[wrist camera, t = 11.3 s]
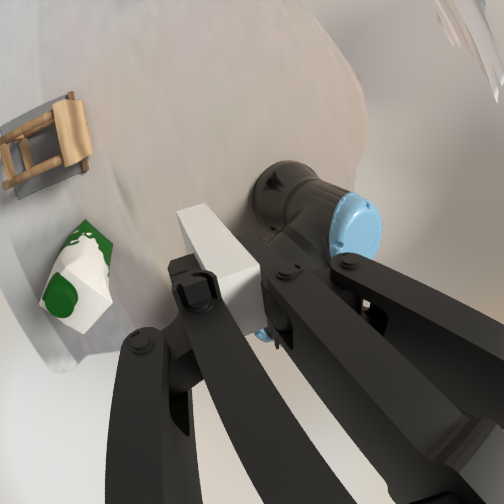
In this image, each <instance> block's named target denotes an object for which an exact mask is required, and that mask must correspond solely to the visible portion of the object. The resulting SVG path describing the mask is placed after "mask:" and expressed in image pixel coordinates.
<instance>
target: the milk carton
mask: <svg viewBox="0 0 504 504" xmlns="http://www.w3.org/2000/svg"><path fill="white" fill-rule="evenodd" d="M112 247H113V244H112V243H111V242H110V241H109V240H108V239H107V238H106V237H104V236H103V235H102V234H101V233H100V232H99V231H98V230H97V229H96V228H94V227H93V226H92V225H91V224H90V223H89V222H88V221H87V220H86V219H85V220H84V221H83V222H82V224H81V225H80V226H79V227H78V228H77V229H76V230H75V231H74V232H73V233H72V234H71V235H70V237H69V238H68V239H67V240H66V242H65V243H64V245H63V246H62V247H61V249H60V252H59V254H58V256H57V258H56V261H55V263H54V266H53V268H52V270H51V273H50V276H49V278H48V281H47V283H46V286H45V289H44V291H43V294H42V297H41V300H40V302H39V305H40V306H41V307H42V308H44V309H45V310H46V311H48V312H49V313H50V314H52V315H53V316H54V317H56V318H57V319H59V320H60V321H62V322H63V323H64V324H65V325H67V326H70V327H72V328H73V329H75V330H76V331H78V332H80V333H81V334H83V335H84V334H85V333H86V331H87V330H88V329H89V328H90V327H91V326H92V325H93V324H94V322H95V321H96V320H97V319H98V318H99V317H100V316H101V315H102V314H103V313H104V311H105V310H106V309H107V308H108V307H109V306H110V305H111V304H112V303H113V302H112V299H111V296H110V292H109V289H108V285H109V269H110V260H111V254H112Z"/></svg>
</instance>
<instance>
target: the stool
mask: <svg viewBox="0 0 504 504" xmlns="http://www.w3.org/2000/svg"><path fill="white" fill-rule="evenodd" d="M52 106H53V109H52V110H50V111H48V112H46V113H44V114H42V115H40V116H38V117H36V118H34V119H32V120H30V121H28V122H26V123H24V124H23V125H21V126H19V127H17V128H15V129H14V130H12V131H10V132H9V133H7V134H5V135H4V136H2V137H0V153H1V157H2V162H3V166H4V170H5V173H6V177H7V180H6V181H5V182H3V185H2V186H3V189H4V190H5V191H6V190H8V189H10V188H12V187H14V186H16V185H18V184H20V183H22V182H24V181H26V180H28V179H30V178H32V177H34V176H36V175H39V174H41V173H43V172H45V171H47V170H50V169H52V168H54V167H57V166H59V165H62V164H65V167H67V166H70V165H73V164H75V163H77V162H79V161H81V160H82V159H84V158H86V157H87V156H89V155H91V154H93V153H94V152H93V148H92V144H91V139H90V134H89V130H88V124H87V119H86V114H85V108H84V102H83V101H78V100H67V99H63V100H61V101H59V102H56V103H54V104H52ZM53 124H56V129H57V134H58V139H59V143H60V148H61V152H62V153H61V154H59V155H57V156H54V157H52V158H50V159H47V160H45V161H43V162H41V163H39V164H37V165H35V166H33V162H32V158H31V154H30V149H29V145H28V140H27V137H28V136H30V135H32V134H34V133H36V132H38V131H40V130H42V129H44V128H47V127H49V126H51V125H53ZM11 142H14V143H17V142H19V143H20V147H21V152H22V156H23V160H24V164H25V168H26V170H24V171H22V173H20V174H18V175H15V171H14V167H13V163H12V159H11V155H10V150H9V146H8V143H11Z"/></svg>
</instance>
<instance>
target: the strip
mask: <svg viewBox="0 0 504 504" xmlns="http://www.w3.org/2000/svg"><path fill="white" fill-rule="evenodd" d="M68 98H69V100H75V97H74V92H73V91H71V92H68ZM81 163H82V167H83V170H84V172H85V171H88V170H89V166H88V162H87V158H84V159H82V160H81Z"/></svg>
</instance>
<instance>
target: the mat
mask: <svg viewBox="0 0 504 504" xmlns="http://www.w3.org/2000/svg"><path fill="white" fill-rule="evenodd" d="M63 99H67V100H68V97H67V94H66V95H63V96H61V97H59V98H56V99H54V100H52V101H49V102H47V103H45V104H43V105H41V106H39V107H36V108H34V109H32V110H30V111H28V112H26V113H24V114H23V115H21V116H19V117H17V118H15V119H13V120H11V121H10V122H8V123H6V124H4V125H3V126H1V127H0V131H1V136H4V135H5V134H7V133H9V132H10V131H12V130H14V129H15V128H17V127H19V126H21V125H23V124H24V123H26V122H28V121H30V120H32V119H34V118H36V117H38V116H40V115H42V114H44V113H46V112H48V111H50V110H52V109H53V106H52V104H54V103H56V102H59V101H61V100H63ZM27 140H28V145H29V149H30V154H31V158H32V162H33V166H35V165H37V164H39V163H41V162H43V161H45V160H47V159H50V158H52V157H54V156H57V155H59V154H61V153H62V152H61V148H60V143H59V139H58V134H57V129H56V124H53V125H51V126H49V127H47V128H44V129H42V130H40V131H38V132H36V133H34V134H32V135H30V136H28V137H27ZM8 146H9V150H10V155H11V159H12V163H13V167H14V171H15V175H18V174H20V173H22V171H24V170H26V168H25V164H24V160H23V156H22V152H21V147H20V143H19V142H17V143H14V142H11V143H8ZM81 172H83V170H82V166H81V162H80V161H79V162H77V163H75V164H73V165H70V166H67V167H65V164H62V165H59V166H57V167H54V168H52V169H50V170H47V171H45V172H43V173H41V174H39V175H36V176H34V177H32V178H30V179H28V180H26V181H24V182H22V183H20V184H18V185H16V186H14V189H15V193H16V196H17V199H18V200H19V199H21V198H23V197H25V196H27V195H29V194H31V193H34V192H36V191H38V190H40V189H42V188H44V187H47V186H49V185H51V184H54V183H56V182H58V181H61V180H63V179H65V178H68V177H70V176H73V175H75V174H78V173H81Z"/></svg>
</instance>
